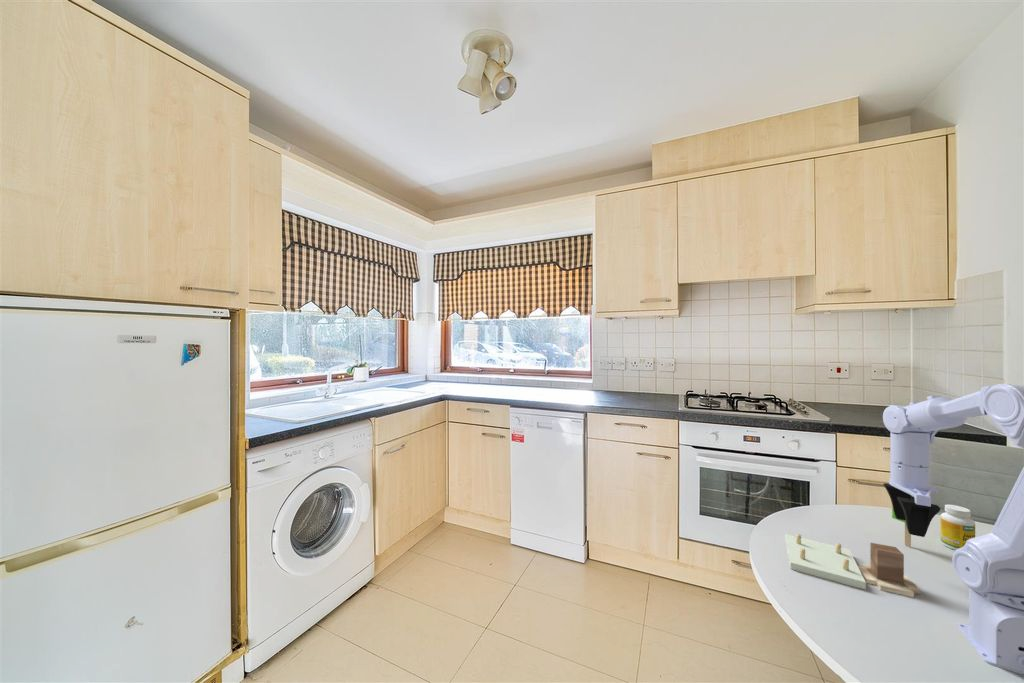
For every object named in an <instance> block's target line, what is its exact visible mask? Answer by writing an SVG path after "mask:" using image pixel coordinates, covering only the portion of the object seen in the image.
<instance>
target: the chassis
mask: <svg viewBox="0 0 1024 683" xmlns="http://www.w3.org/2000/svg"><path fill="white" fill-rule="evenodd" d="M784 542H785V547H786V551H787V557H788V562H789V567H790V570H793V571H796V572H800V573H803V574H807V575H811V576H814V577H818V578H821V579H825V580H828V581H829V580H830V581H832V582H836V583H840V584H843V585H847V586H850V587H853V588H858V589H861V590H864V591H865V590H867V589H866V588H867V583H866V581H865V580H864V578H863V576H862V574H861V572H860V570H859V568H858V566H859V565H858V564H857V562H856V560H855V558H854V556H853V554H852V551H851V550H850V548H846V547H842V544H841V543H840V542H836V543H835V545H833V544H830V543H829V544H828V543H826V542H820V541H816V540H812V539H807V538H804V537H802V535H801V534H798V533H796V534H795V536H794V535H790V534H786V533H785V534H784Z"/></svg>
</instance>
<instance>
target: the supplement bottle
mask: <svg viewBox="0 0 1024 683" xmlns="http://www.w3.org/2000/svg"><path fill="white" fill-rule="evenodd" d="M971 516H972V512H971V510H970V509H969V508H966V507H963V506H960V505H955V504H944V512H942V513H941V514H940V543H941V544H942V545H943V546H944V547H946V548H949V549H951V550H954V551H955V550H957V549H958V548H962V547H963V546H964V545H965V544H966V542H967V540H969V539H972V538H975V537H976V523H975V521H974V520H973V519H972V518H971Z"/></svg>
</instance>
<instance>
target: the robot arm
mask: <svg viewBox="0 0 1024 683" xmlns="http://www.w3.org/2000/svg"><path fill="white" fill-rule="evenodd" d="M926 399H927V400H923V401H911V402H909V404H907V405H906V406H900V405H895V404H892V405H891V404H890V405H889V406H887V407H886V408H885V409H884V411H883V413H882V422H883V425H884V426H885V428H886V429H887V430H888V431H889V432H890V434H889V436H890V438H889V439H890V441H889V442H890V448H889V449H890V451H889V452H890V456H889V457H890V458H889V459H890V460H889V462H890V465H889V467H890V468H889V470H890V471H889V472H890V475H889V476H890V477H889V479H888V482H887V483H885V482H884V483H883V484H882V485H883V487H884V488H885V490H886V493H888V496H889V498H890V502H891V507H892V506H893V510H894V514H895V516H896V518H897V519H900V520H905V521H906V525H907V529H908V532H909V534H911V536H915V537H921V538H925V537H926V534H927V533H928V529H929V527H930V524H931V522H932V521H933V519H934V517H935V516H936V515H937V514H939V513H940V511H941V507H940V506H939V505H938V504H932V496H931V494H932V493H939V488H938V487H936V486H934V485H931V445H933V444H934V442H935V435H936V434H937V433H938V432H939V430H940V431H941V430H947V429H951V428H957V427H960V426H962V425H964V424H965V422H966V421H967V418H968V419H969V418H975V417H982V416H988V417H989V418H990V419H991V420H992V422H993V423H994V424H995V425H996V426H997V427H998V428H999V429H1000V430H1001V432H1003V433H1004V434H1005V435H1006V436H1007V437H1008V439H1009V440H1010V441H1011V442H1012V443H1013V444H1014V445H1015V446H1017V447H1020V448H1022V449H1024V385H1023V384H1022V385H1021V384H1019V385H1018V384H1016V385H1015V384H1011V383H998V384H994V385H989V386H982V387H981V389H980V390H978V391H975V392H973V393H970V394H966V395H963V396H960V397H958V398H953V399H951V398H949V397H946V396H945V397H943V396H941V395H929V396H927V397H926ZM1021 469H1022V470H1020V473H1019V475H1018V478H1017V480H1016V481H1015V483H1014V485H1013V487H1012V489H1011V491H1010V493H1009V495H1008V497H1007V498H1006V501H1005V503H1004V505H1003V507H1002V509H1001V511H1000V513H999V515H998V517H997V519H996V521H995V523H994V525H993V527H992V529H991V531H990V532H989V533H986V534H983V535H979V536H975V538H972V539H969V540H967V542H966V544H965V545H964V546H963V547H962V548H958V549H957V550H954V552H953V555H952V558H951V563H952V567H953V569H954V572H955V573H956V575H957V576H958V578H959V580H960V581H962V583H963V584H964V585H965V586H967V588H968V624H966V623H963V622H960V621H957V622H956V626H957V627H958V629H959V630H960V631H961V633H962V634H963V635H964V637H965V638H966V639H967V641H968V642H969V644H971V646H972V647H973V648H974V650H975V651H976V653H977V654H978V656H980V658H981V659H982V661H983V662H984V663H986V664H988V665H990V666H995V667H996V668H997V667H998V668H1001V669H1004V670H1006V671H1010V672H1013V673H1017V674H1019V675H1020V674H1021V675H1024V466H1023V467H1022V468H1021ZM897 519H896V520H897Z"/></svg>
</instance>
